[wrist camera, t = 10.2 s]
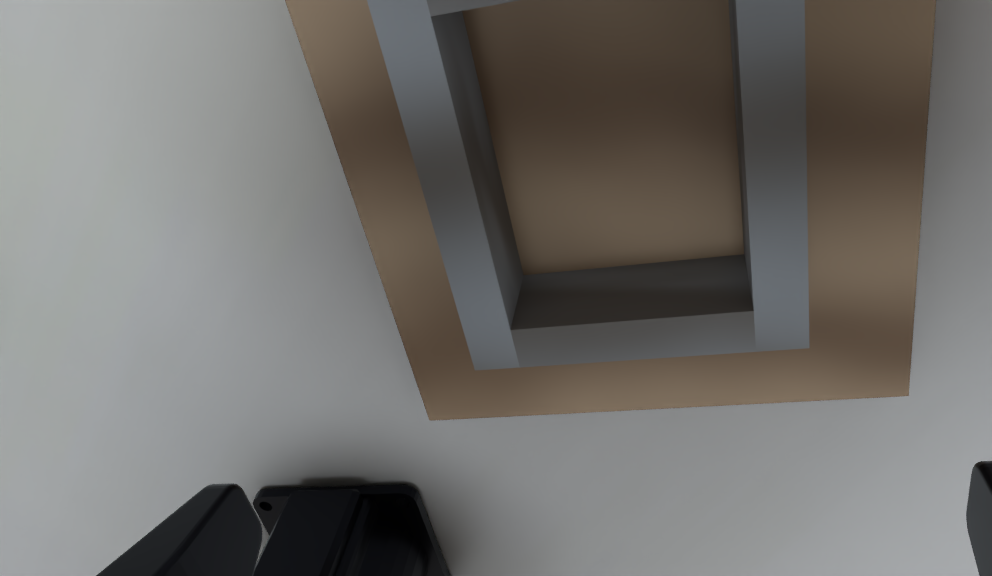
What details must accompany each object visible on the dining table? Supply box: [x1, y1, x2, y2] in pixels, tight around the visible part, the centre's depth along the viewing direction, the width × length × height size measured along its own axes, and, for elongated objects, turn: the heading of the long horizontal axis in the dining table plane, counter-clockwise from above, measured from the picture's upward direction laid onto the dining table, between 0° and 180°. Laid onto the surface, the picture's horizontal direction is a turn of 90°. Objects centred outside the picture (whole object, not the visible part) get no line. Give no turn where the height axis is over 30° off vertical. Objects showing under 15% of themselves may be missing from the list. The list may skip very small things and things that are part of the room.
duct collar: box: [285, 0, 936, 420], centre depth 19 cm, size 18×14×4 cm
